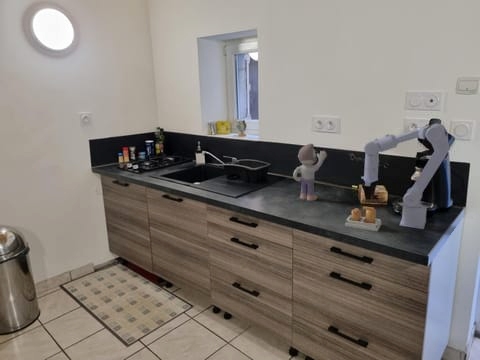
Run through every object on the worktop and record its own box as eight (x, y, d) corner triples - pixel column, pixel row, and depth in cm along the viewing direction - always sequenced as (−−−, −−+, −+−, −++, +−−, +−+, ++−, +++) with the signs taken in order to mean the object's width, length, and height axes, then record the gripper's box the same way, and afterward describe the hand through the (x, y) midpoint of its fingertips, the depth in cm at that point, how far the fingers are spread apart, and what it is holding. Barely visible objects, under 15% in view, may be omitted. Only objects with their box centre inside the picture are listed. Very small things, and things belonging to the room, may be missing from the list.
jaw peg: (375, 223, 158) (376, 207, 156) (374, 226, 155) (375, 210, 153) (363, 221, 161) (364, 205, 159) (361, 224, 158) (361, 208, 156)
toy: (330, 200, 194) (331, 144, 186) (321, 204, 188) (322, 147, 180) (301, 194, 206) (301, 141, 198) (292, 198, 200) (291, 144, 192)
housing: (381, 224, 160) (382, 209, 158) (377, 231, 153) (378, 215, 151) (349, 219, 166) (350, 204, 164) (344, 226, 159) (345, 210, 157)
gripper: (365, 164, 170) (363, 191, 173) (358, 171, 157) (357, 200, 161) (381, 165, 166) (379, 193, 170) (375, 172, 154) (373, 202, 158)
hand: (369, 197), depth 165 cm, fingers open, 7 cm apart
